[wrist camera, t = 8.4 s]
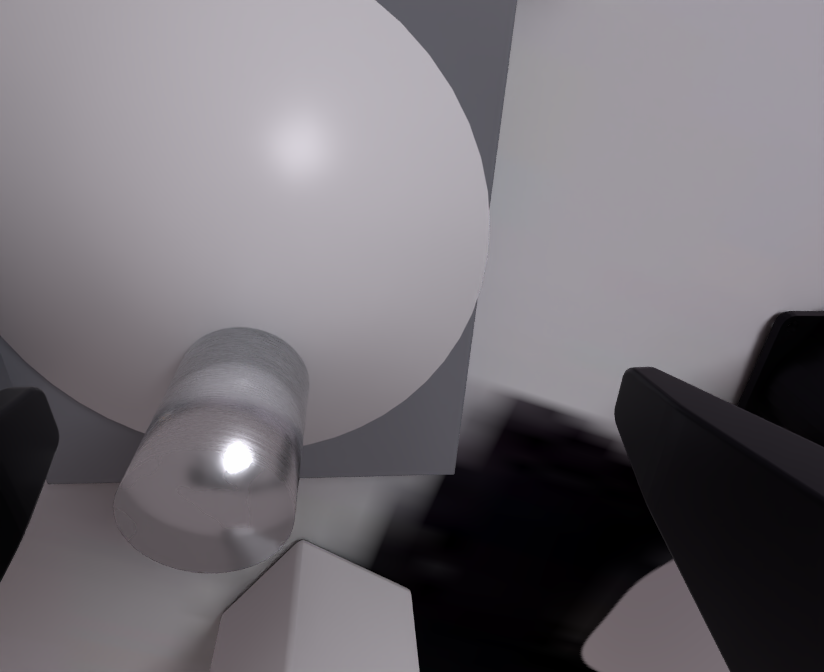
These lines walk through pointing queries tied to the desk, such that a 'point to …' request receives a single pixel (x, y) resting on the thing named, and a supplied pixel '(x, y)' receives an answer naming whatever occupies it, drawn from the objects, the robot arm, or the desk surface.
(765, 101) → the desk surface
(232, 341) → the cylinder
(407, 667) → the medicine bottle
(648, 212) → the desk surface
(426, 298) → the scale
